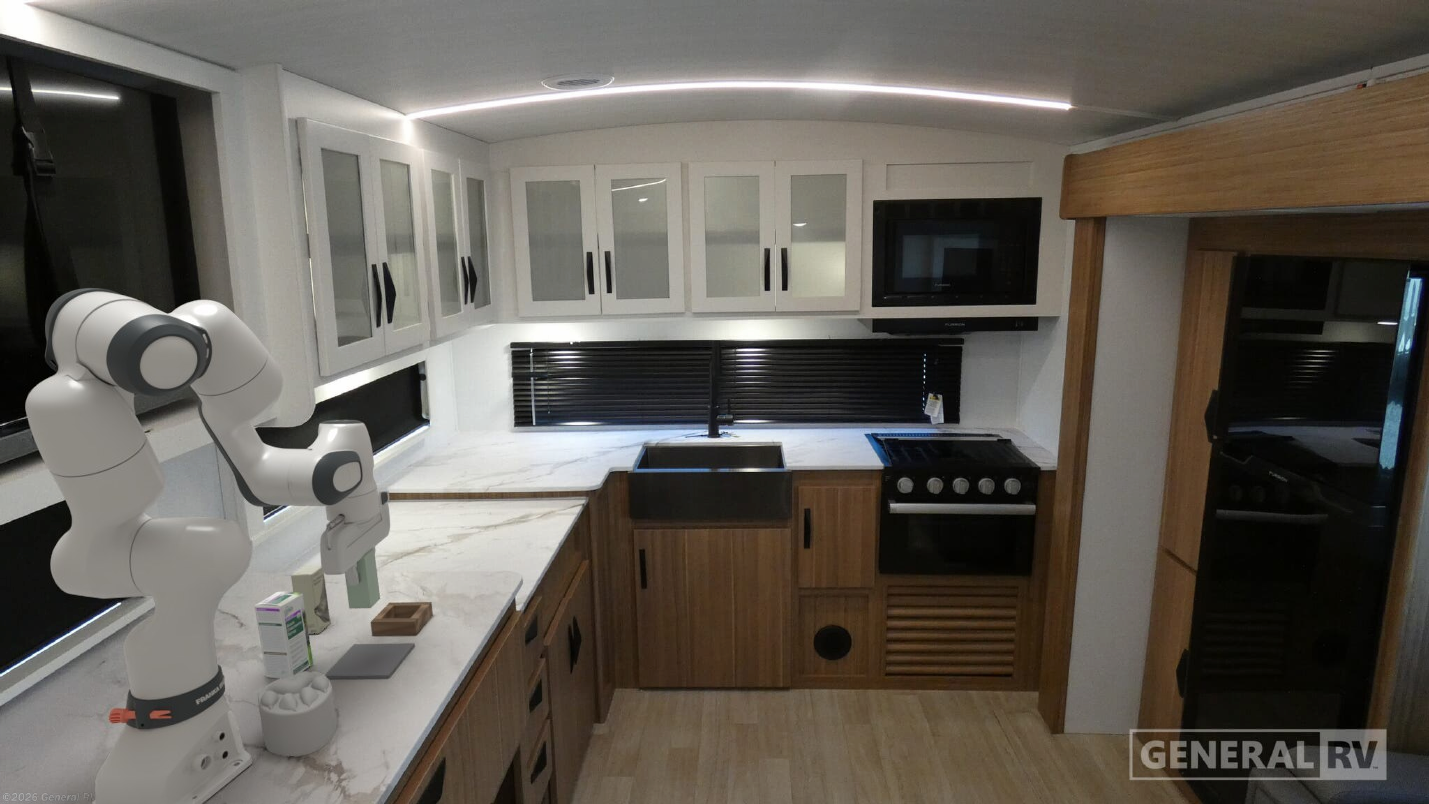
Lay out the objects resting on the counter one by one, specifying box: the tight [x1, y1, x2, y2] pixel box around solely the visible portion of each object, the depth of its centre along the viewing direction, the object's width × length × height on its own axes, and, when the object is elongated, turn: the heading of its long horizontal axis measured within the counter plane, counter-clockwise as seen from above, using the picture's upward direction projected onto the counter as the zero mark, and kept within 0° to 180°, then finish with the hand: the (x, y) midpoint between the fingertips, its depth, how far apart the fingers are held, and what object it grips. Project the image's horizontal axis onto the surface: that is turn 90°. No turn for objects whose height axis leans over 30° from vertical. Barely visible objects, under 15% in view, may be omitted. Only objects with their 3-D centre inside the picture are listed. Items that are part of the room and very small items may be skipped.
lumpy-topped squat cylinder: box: [257, 671, 338, 758], centre depth 132 cm, size 10×13×9 cm
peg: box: [344, 548, 381, 610], centre depth 152 cm, size 4×4×10 cm
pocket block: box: [370, 601, 434, 637], centre depth 170 cm, size 9×9×3 cm
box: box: [290, 565, 331, 635], centre depth 169 cm, size 5×4×13 cm
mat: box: [324, 642, 416, 680], centre depth 155 cm, size 12×12×1 cm
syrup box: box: [254, 591, 314, 679], centre depth 152 cm, size 6×6×14 cm
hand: (361, 577), depth 152 cm, fingers closed on peg, 4 cm apart
